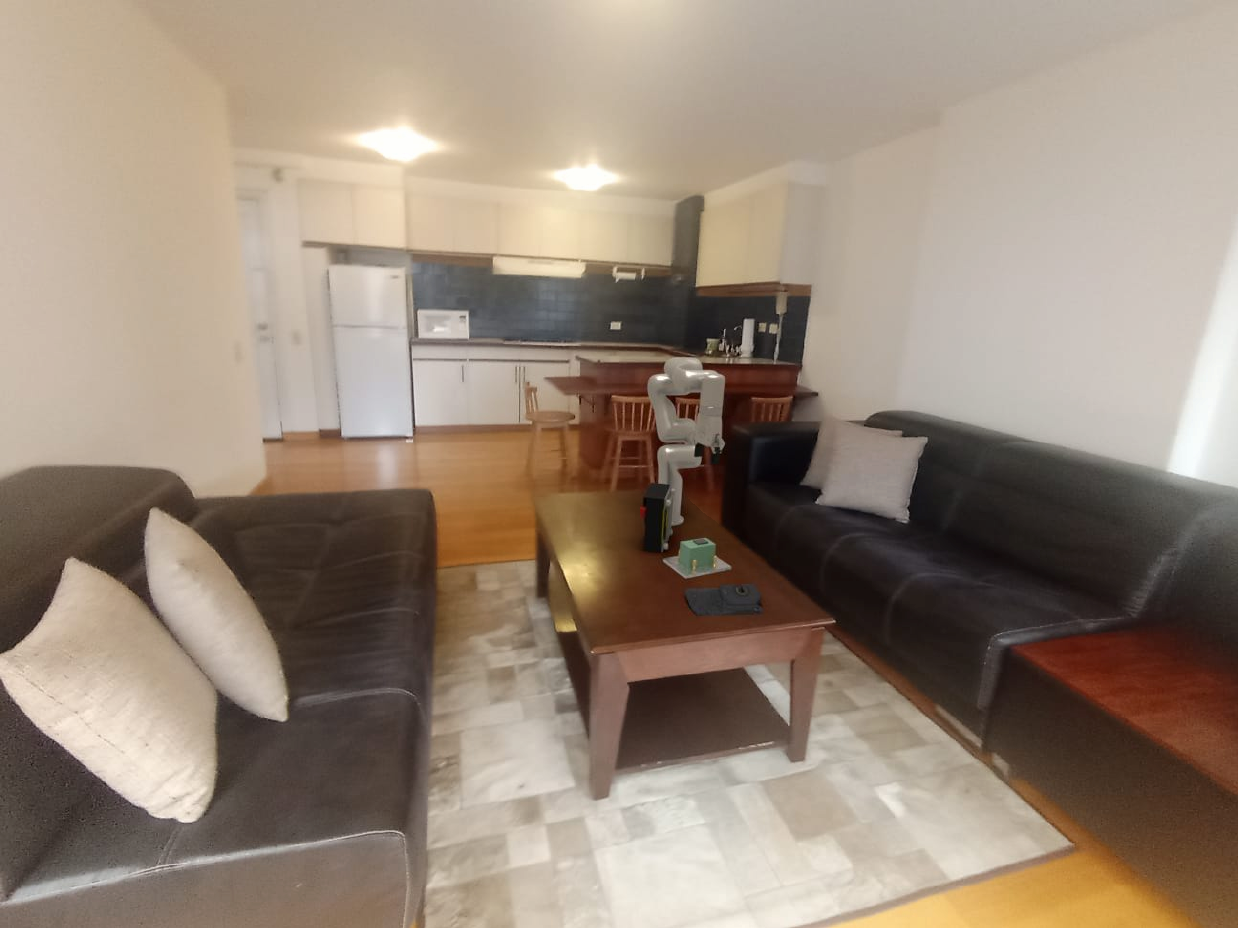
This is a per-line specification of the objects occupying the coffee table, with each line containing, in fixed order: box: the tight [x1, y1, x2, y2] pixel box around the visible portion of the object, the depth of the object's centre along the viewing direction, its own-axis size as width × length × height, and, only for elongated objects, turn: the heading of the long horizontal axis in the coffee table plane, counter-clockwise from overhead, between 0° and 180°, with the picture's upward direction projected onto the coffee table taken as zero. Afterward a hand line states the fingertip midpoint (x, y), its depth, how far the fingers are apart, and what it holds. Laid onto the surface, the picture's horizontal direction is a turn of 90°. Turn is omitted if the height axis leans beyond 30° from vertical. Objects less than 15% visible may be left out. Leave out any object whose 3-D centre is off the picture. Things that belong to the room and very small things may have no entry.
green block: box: [679, 537, 717, 568], centre depth 193 cm, size 6×10×8 cm, turn 116°
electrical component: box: [640, 482, 675, 554], centre depth 209 cm, size 18×10×20 cm, turn 168°
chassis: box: [662, 548, 732, 579], centre depth 193 cm, size 14×18×4 cm
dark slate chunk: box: [684, 583, 765, 617], centre depth 170 cm, size 15×22×5 cm
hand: (706, 460), depth 197 cm, fingers open, 9 cm apart
